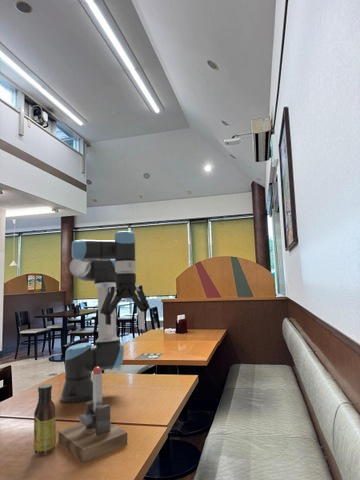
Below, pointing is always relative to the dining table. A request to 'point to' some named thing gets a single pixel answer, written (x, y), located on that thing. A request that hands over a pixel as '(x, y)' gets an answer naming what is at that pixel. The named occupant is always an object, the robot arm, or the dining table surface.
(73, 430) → the base
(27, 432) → the dining table surface
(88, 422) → the lever
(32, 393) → the dining table surface
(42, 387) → the sauce bottle
